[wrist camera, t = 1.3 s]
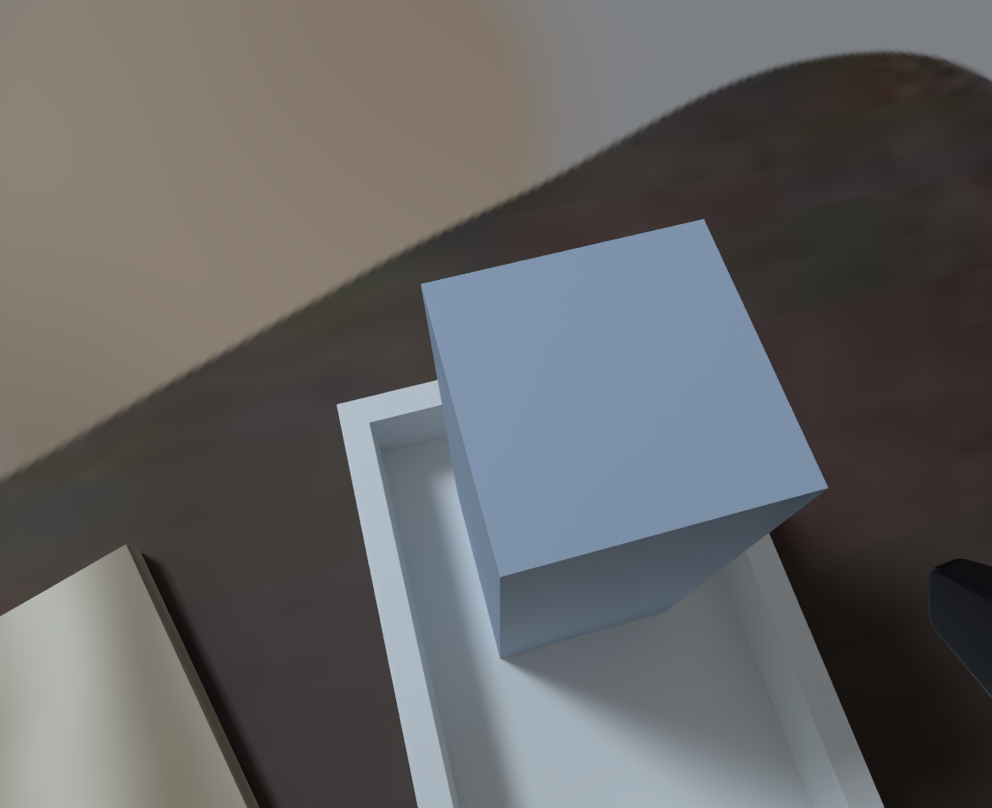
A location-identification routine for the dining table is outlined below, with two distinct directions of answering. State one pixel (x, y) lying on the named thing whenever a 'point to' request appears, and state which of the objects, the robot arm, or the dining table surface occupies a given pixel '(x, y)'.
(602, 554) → the carton
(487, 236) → the dining table surface
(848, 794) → the tray
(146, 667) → the board
